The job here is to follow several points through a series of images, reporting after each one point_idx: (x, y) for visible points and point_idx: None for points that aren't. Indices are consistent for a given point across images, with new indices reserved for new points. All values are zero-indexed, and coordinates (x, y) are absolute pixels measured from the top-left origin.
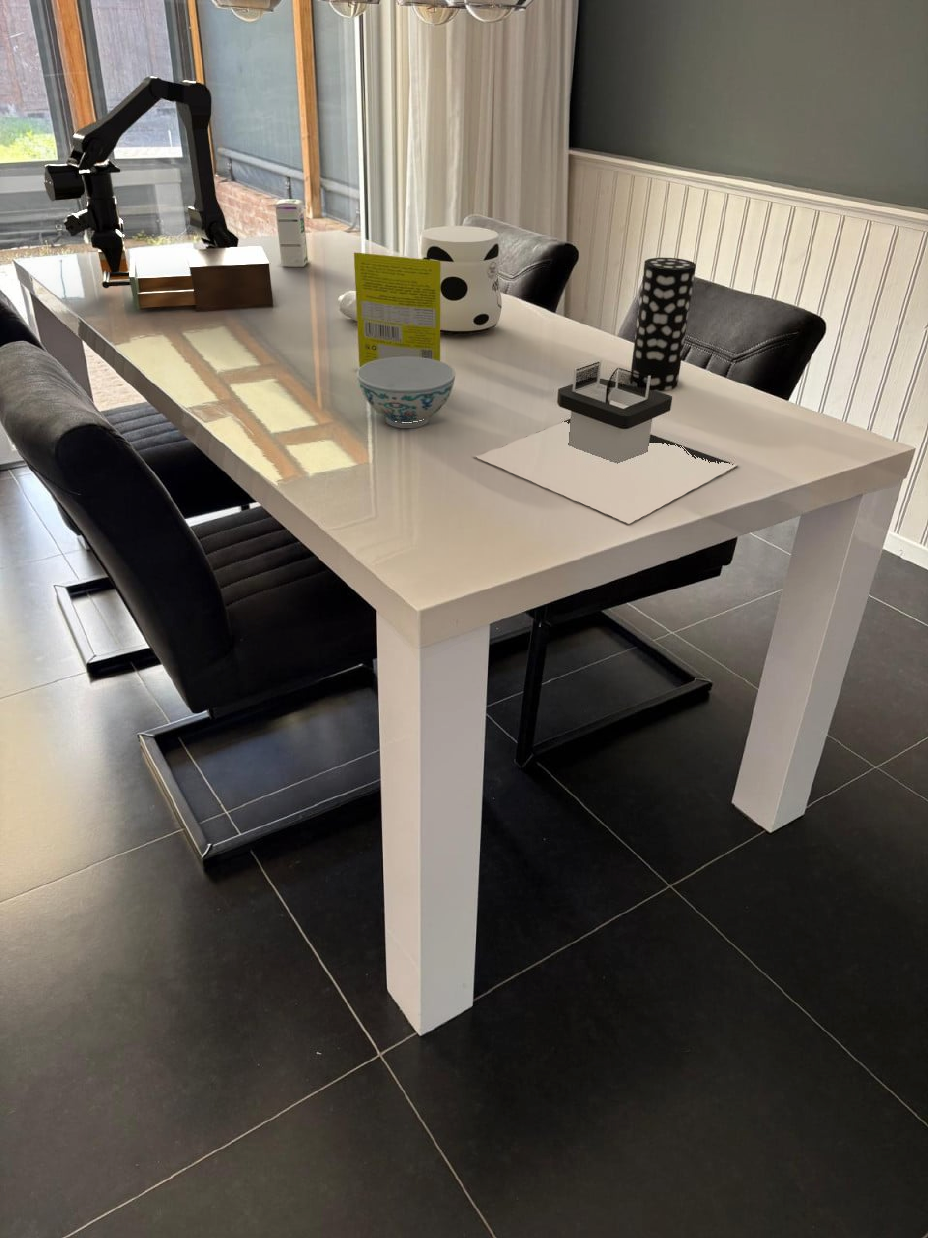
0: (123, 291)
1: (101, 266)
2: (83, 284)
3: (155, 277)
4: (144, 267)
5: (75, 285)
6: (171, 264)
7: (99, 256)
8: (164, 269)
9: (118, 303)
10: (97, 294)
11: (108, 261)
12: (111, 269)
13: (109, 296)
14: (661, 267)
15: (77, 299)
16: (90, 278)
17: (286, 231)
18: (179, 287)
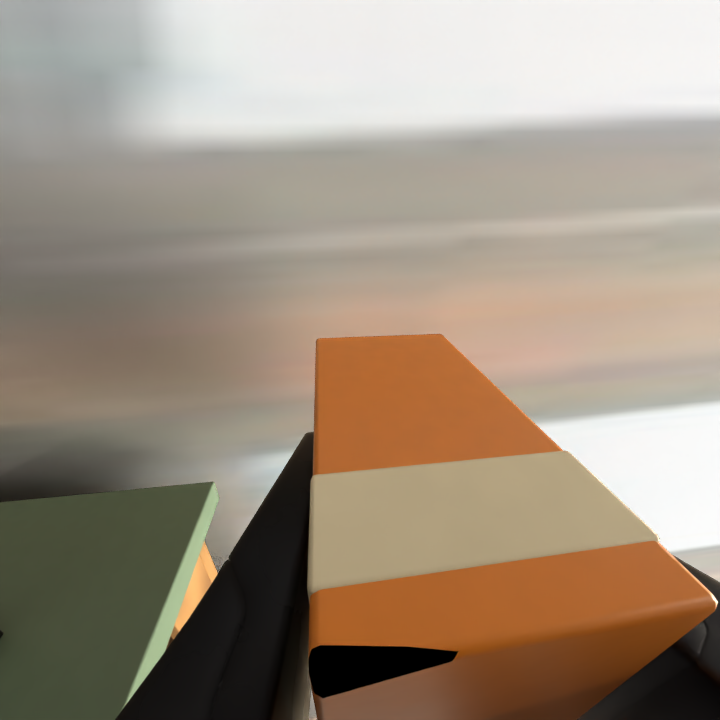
0: (311, 398)
1: (315, 408)
2: (581, 127)
3: (172, 635)
4: (705, 440)
5: (587, 42)
6: (672, 509)
7: (310, 537)
8: (621, 499)
9: (14, 395)
10: (253, 252)
11: (233, 559)
12: (284, 470)
13: (195, 334)
14: None
15: (67, 57)
16: (709, 186)
17: None
18: None
